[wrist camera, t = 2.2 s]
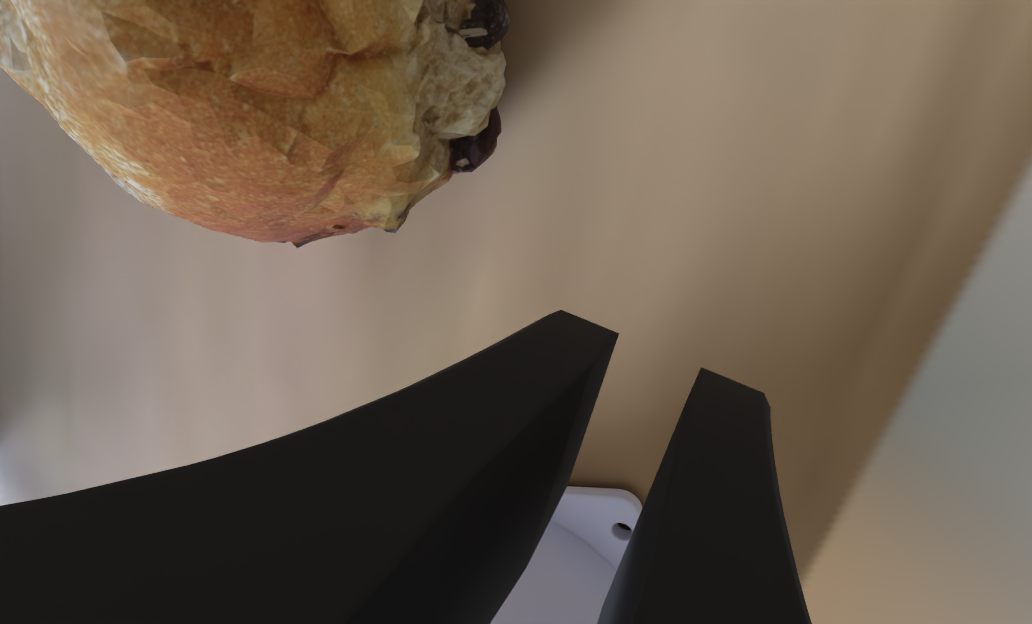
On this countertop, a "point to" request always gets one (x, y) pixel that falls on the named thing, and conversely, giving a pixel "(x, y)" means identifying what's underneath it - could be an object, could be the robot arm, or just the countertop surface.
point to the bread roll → (268, 102)
